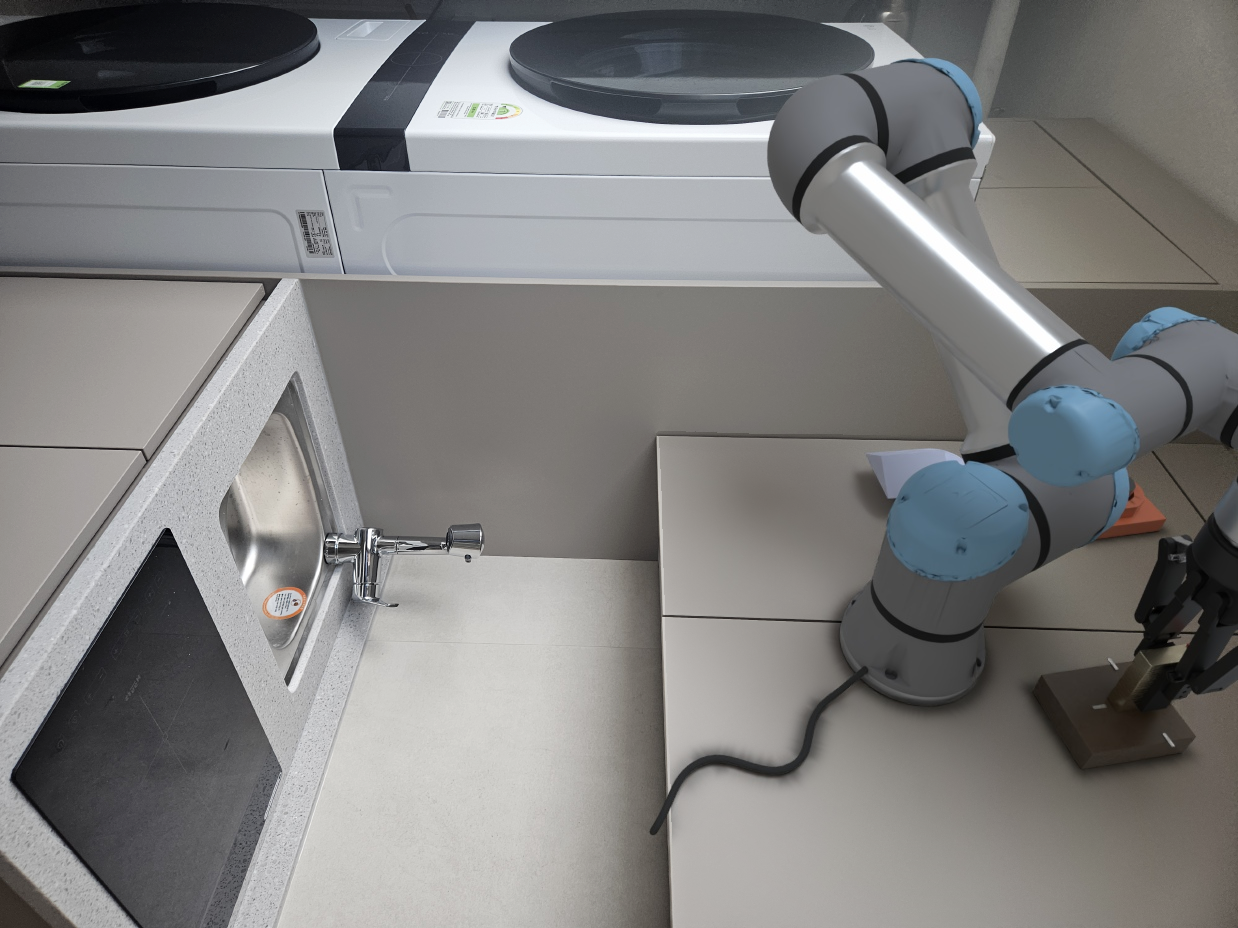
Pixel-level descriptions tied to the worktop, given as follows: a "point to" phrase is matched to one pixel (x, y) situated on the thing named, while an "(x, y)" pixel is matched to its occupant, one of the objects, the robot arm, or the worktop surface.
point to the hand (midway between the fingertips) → (1143, 695)
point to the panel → (1107, 719)
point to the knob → (1143, 675)
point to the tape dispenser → (904, 466)
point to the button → (1131, 486)
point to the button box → (1136, 517)
